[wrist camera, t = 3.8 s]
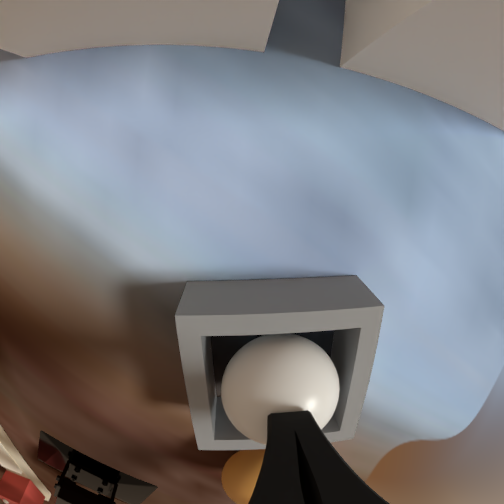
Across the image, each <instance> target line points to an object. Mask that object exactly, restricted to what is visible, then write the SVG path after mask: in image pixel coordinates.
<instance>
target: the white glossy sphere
mask: <svg viewBox="0 0 504 504" xmlns="http://www.w3.org/2000/svg"><path fill="white" fill-rule="evenodd" d="M339 390H340V388H339V378H338V374H337V371H336V368H335V366H334V364H333V362H332V360H331V359H330V357H329V356H328V355H327V353H326V352H325V351H324V350H323V349H322V348H321V347H320V346H318V345H317V344H315V343H314V342H312V341H311V340H309V339H307V338H304V337H302V336H299V335H295V334H289V333H285V334H268V335H264V336H261V337H258V338H256V339H254V340H252V341H250V342H248V343H247V344H245V345H244V346H243V347H242V348H240V349H239V350H238V351H237V352H236V353H235V354H234V356H233V357H232V358H231V360H230V361H229V363H228V365H227V367H226V369H225V372H224V374H223V378H222V384H221V398H222V403H223V407H224V410H225V412H226V414H227V416H228V418H229V420H230V421H231V423H232V424H233V425H234V426H235V428H236V429H237V430H238V431H240V432H241V433H242V434H243V435H244V436H246V437H248V438H249V439H251V440H253V441H255V442H258V443H261V444H264V445H266V443H267V416H268V415H269V414H271V413H283V412H295V411H306V410H308V411H310V412H311V414H312V416H313V417H314V419H315V421H316V422H317V424H318V426H319V427H320V429H321V430H322V429H323V427H324V426H325V425H326V424H327V423H328V422H329V420H330V419H331V417H332V415H333V413H334V411H335V409H336V406H337V403H338V399H339Z"/></svg>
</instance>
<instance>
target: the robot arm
mask: <svg viewBox="0 0 504 504" xmlns="http://www.w3.org/2000/svg"><path fill="white" fill-rule="evenodd" d="M248 504H389V503H388V502H387V501H385V500H384V499H383V498H382V497H380V496H379V495H378V494H377V493H376V492H375V491H373V490H372V489H371V488H370V487H369V486H368V485H367V484H366V483H365V482H364V481H363V480H362V479H361V478H360V477H359V476H358V475H357V474H356V473H355V472H354V471H353V470H352V469H351V468H350V467H349V466H348V464H347V463H346V462H345V461H344V460H343V458H342V457H341V456H340V455H339V453H338V452H337V451H336V450H335V448H334V447H333V446H332V444H331V443H330V442H329V440H328V439H327V438H326V436H325V435H324V433H323V432H322V430H321V429H320V427H319V426H318V424H317V422H316V421H315V419H314V417H313V416H312V414H311V412H310V411H308V410H306V411H295V412H283V413H271V414H269V415H268V416H267V443H266V449H265V453H264V458H263V462H262V466H261V469H260V473H259V476H258V479H257V482H256V485H255V488H254V490H253V493H252V496H251V498H250V501H249V503H248Z"/></svg>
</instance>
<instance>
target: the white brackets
mask: <svg viewBox="0 0 504 504" xmlns="http://www.w3.org/2000/svg"><path fill="white" fill-rule="evenodd" d="M278 3H279V0H0V49H2V50H5V51H8V52H11V53H14V54H16V55H19V56H22V57H25V58H29V57H34V56H39V55H45V54H51V53H57V52H64V51H71V50H79V49H88V48H98V47H110V46H127V45H191V46H209V47H222V48H232V49H242V50H250V51H258V52H264V51H265V48H266V44H267V41H268V37H269V34H270V30H271V27H272V23H273V20H274V16H275V13H276V9H277V6H278ZM340 68H344V69H348V70H352V71H355V72H359V73H363V74H366V75H369V76H373V77H376V78H379V79H382V80H386V81H389V82H392V83H395V84H398V85H401V86H403V87H406V88H409V89H412V90H414V91H417V92H420V93H422V94H425V95H428V96H430V97H433V98H435V99H438V100H440V101H442V102H445V103H447V104H449V105H452V106H454V107H456V108H458V109H461V110H463V111H465V112H467V113H469V114H471V115H473V116H475V117H478V118H480V119H482V120H484V121H486V122H487V123H489V124H491V125H493V126H495V127H497V128H499V129H501V130H503V131H504V0H345V14H344V27H343V39H342V50H341V60H340Z"/></svg>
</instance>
